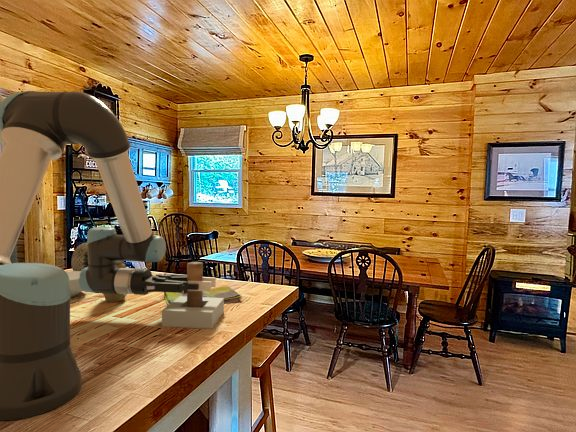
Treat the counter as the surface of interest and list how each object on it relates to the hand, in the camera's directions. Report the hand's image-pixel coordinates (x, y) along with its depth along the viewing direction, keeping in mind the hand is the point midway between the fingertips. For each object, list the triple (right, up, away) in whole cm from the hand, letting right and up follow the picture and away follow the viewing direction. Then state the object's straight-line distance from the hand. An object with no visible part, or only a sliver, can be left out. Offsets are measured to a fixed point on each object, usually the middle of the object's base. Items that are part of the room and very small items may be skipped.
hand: (212, 284), depth 108 cm
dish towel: (-8, -10, +22) cm, 25 cm away
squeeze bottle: (-37, -9, +18) cm, 42 cm away
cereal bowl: (-56, -8, +22) cm, 61 cm away
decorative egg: (-62, -6, +47) cm, 78 cm away
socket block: (-6, -10, +1) cm, 12 cm away
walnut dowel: (-6, -9, +1) cm, 10 cm away
